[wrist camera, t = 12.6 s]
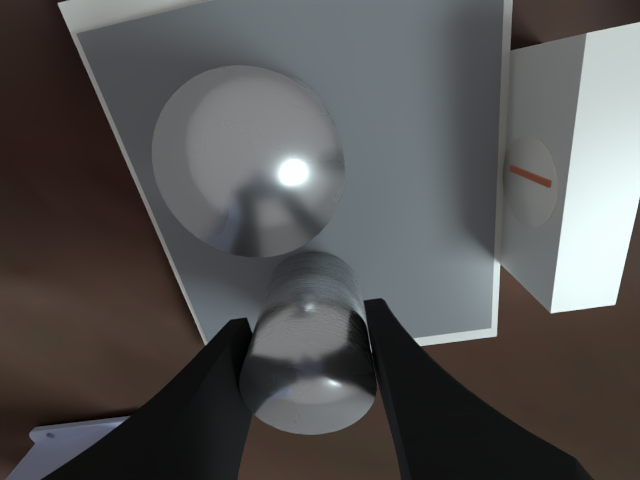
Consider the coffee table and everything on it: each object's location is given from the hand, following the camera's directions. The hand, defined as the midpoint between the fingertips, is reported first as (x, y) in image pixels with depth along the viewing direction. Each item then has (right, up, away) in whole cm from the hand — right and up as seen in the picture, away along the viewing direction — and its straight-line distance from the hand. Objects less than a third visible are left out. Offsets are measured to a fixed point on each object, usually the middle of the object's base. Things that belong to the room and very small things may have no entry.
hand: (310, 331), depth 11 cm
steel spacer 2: (0, +1, +3) cm, 3 cm away
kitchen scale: (0, +5, +3) cm, 6 cm away
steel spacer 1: (-1, +7, 0) cm, 7 cm away
